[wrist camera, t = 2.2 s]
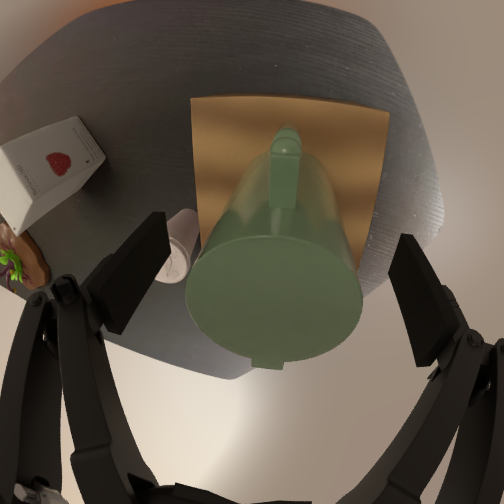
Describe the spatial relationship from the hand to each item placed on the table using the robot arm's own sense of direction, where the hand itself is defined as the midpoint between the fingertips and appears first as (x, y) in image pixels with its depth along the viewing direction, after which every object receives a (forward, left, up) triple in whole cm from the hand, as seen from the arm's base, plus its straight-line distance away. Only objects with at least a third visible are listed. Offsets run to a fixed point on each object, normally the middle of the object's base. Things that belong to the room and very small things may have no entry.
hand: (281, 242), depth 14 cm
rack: (0, 0, -19) cm, 19 cm away
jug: (0, 0, -7) cm, 7 cm away
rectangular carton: (-1, -31, -19) cm, 36 cm away
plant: (+21, -62, -19) cm, 68 cm away
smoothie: (+10, -13, -19) cm, 25 cm away
